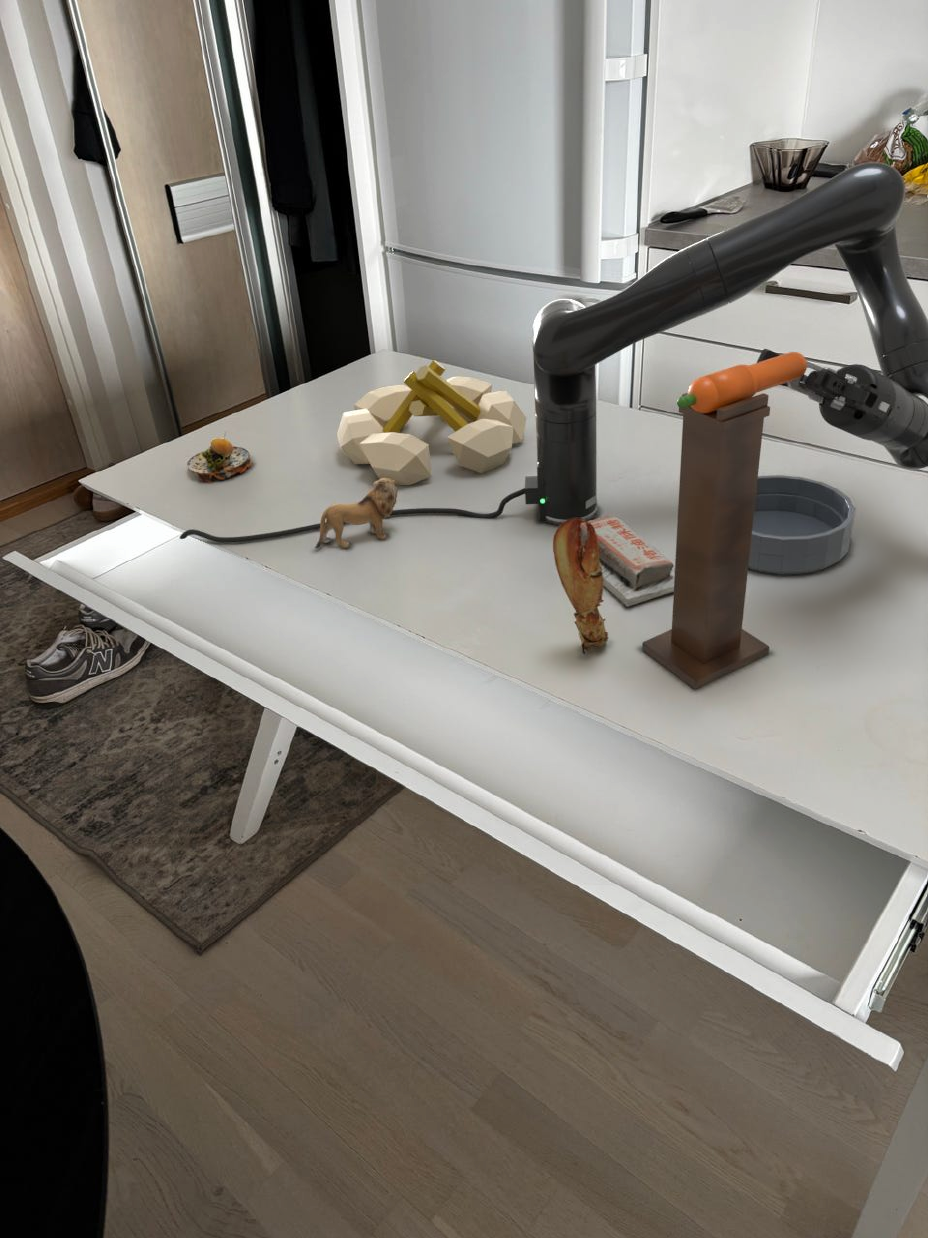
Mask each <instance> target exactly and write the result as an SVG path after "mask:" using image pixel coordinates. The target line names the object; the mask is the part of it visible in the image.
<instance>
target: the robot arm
mask: <svg viewBox="0 0 928 1238" xmlns="http://www.w3.org/2000/svg"><path fill="white" fill-rule="evenodd" d="M905 197H906V185H905V181H904V178H903V176H902V174H901V173H900V172H899V171H898V169H896V168H895V167H893V166H892V165H890V164H887V163H885V162H877V161H870V162H869V161H867V162H862V163H859V164H855V165H853V166H851V167H849V168H847V169H845V170H843V171H841V172H839V173H838V174H836V175H835V176H833V177H831V178H829V179H828V180H826V181H824V182H823V183H821V184H819V185H818V186H816V187H814V188H812V189H811V190H808V191H807V192H805V193H804V194H802V195H800V196H798V197H796V198H795V199H793V200H791V201H790V202H787V203H785V204H784V205H782V206H779V207H777V208H774V209H772V210H770V211H768V212H765V213H762V214H760V215H757V216H755V217H753V218H750V219H748V220H746V221H743V222H741V223H739V224H737V225H734V226H732V227H729V228H728V229H725V230H723V231H721V232H719V233H716V234H713V235H711V236H708V237H706V238H704V239H702V240H700V241H698V242H695V243H693V244H691V245H689V246H687V247H685V248H683V249H680V250H678V251H676V252H675V253H673V254H671V255H670V256H668V257H666V258H665V259H663V260H662V261H660V262H659V263H658V264H656V265H655V266H653V267H652V268H651V269H650V270H649V271H647V272H646V273H645V274H643V275H642V276H641V277H640V278H638V279H636V281H635V282H633V283H632V284H630V285H629V286H627V287H626V288H625V289H623V290H622V291H620V292H618V293H616V294H614V295H612V296H610V297H608V298H606V299H603V300H601V301H598V302H596V303H593V304H591V305H588V306H585V305H584V304H582V303H581V302H579V301H577V300H575V299H570V298H559V299H556V300H553V301H550V302H549V303H547V304H546V305H544V306H543V307H542V308H541V309H540V311H539V312H538V313H537V315H536V317H535V319H534V321H533V325H532V337H531V338H532V339H531V340H532V342H531V343H532V357H533V384H534V385H533V387H534V388H533V389H534V390H533V391H534V412H535V413H534V414H535V434H536V459H537V461H536V475H531V476H530V475H527V476H525V478H524V479H525V480H524V487H523V488H521V489H519V490H515V491H513V492H511V493H510V494H508V495H507V496H505V497H504V498H502V500H500V503H499V505H498V508H497V509H496V511H493V512H491V513H478V512H474V511H470V510H466V509H461V508H452V507H450V508H449V507H446V508H445V507H418V508H416V507H415V508H403V509H401V508H400V509H393V510H392V513H391V514H390V516H389V517H392V516H393V517H394V516H403V515H404V516H405V515H420V514H443V515H445V514H447V515H459V516H464V517H469V518H473V519H474V518H475V519H490V520H491V519H495V518H497V517H499V516H501V515H502V514H503V512H504V509H505V507H506V505H507V504H508V503H509V502H511V501H512V500H514V499H516V498H519V497H521V496H524V499H525V500H524V501H525V502H524V504H525V505H538V522H540V523H543V522H545V523H549V524H552V525H556V526H560V525H561V524H562V523H563V522H565V521H566V520H568V519H570V518H574V517H579V518H582V519H584V520H586V521H590V520H593V519H594V518H595V517H596V516H597V513H598V497H597V496H598V495H597V491H598V489H597V488H598V485H597V477H598V476H597V475H598V474H597V469H598V468H597V467H598V466H597V465H598V464H597V461H598V460H597V397H598V396H597V378H596V377H597V375H596V366H597V364H600V363H601V362H603V361H604V360H607V359H608V358H610V357H612V356H614V355H615V354H617V353H618V352H621V351H623V350H624V349H626V348H628V347H630V346H632V345H634V344H636V343H638V342H640V341H643V340H645V339H647V338H650V337H652V336H655V335H658V334H660V333H663V332H664V331H668V330H670V329H672V328H674V327H677V326H680V325H682V324H684V323H686V322H689V321H691V320H693V319H696V318H698V317H702V316H704V315H707V314H709V313H711V312H714V311H716V310H718V309H720V308H723V307H725V306H728V305H729V304H732V303H734V302H735V301H737V300H740V299H741V298H743V297H745V296H747V295H749V294H751V293H752V292H753V291H755V290H757V289H759V287H761V286H763V285H764V284H765V283H767V282H768V281H770V280H771V279H772V278H774V277H776V275H778V274H779V273H780V272H782V271H784V270H785V269H786V268H788V267H789V266H791V265H792V264H795V262H797V261H799V260H801V259H803V258H804V257H806V256H809V255H811V254H813V253H815V252H816V253H817V252H818V251H821V250H823V249H826V248H828V247H832V246H834V247H835V249H836V251H837V253H838V255H839V257H840V258H841V261H842V263H843V264H844V267H845V268H846V270H847V272H848V274H849V276H850V279H851V281H852V284H853V286H854V288H855V290H856V293H857V296H858V298H859V302H860V304H861V307H862V311H863V313H864V317H865V321H866V323H867V327H868V331H869V335H870V338H871V341H872V345H873V349H874V352H875V355H876V358H877V362H878V366H879V368H880V369H879V370H880V372H881V373H880V372H878V371H876V370H875V369H872V368H870V367H869V366H867V365H864V364H857V363H854V364H849V365H845V366H842V367H841V368H839V369H837V370H836V369H833V368H830V367H827V366H824V367H822V366H820V365H818V364H815V363H812V362H810V361H808V360H806V361H807V368H806V371H805V373H806V372H807V369H808V368H809V369H811V370H812V371H810V372H809V374H808V375H807V374H805V373H804V374H803V375H802V376H801V377H800V378H798V379H795V380H792V381H790V382H787V383H785V384H786V385H787V387H788V388H789V389H790V390H793V391H795V392H798V393H800V394H803V395H805V396H807V397H808V399H809V400H812V401H814V402H816V403H818V408H819V412H820V416H821V417H822V419H823V420H824V421H825V422H826V423H827V424H829V425H830V426H831V427H834V428H837V429H839V430H840V431H843V432H846V433H848V434H850V435H852V436H855V437H857V438H859V439H862V440H866V441H871V442H873V443H876V444H878V445H880V446H882V447H884V449H885V450H886V451H887V452H888V453H889V454H890V456H891V457H892V460H893V461H894V462H895V463H896V465H897V466H899V467H900V468H901V469H904V470H910V471H911V470H913V471H914V470H915V471H916V470H921V469H924V468H927V467H928V403H927V402H926V401H925V400H924V399H923V398H921V397H924V398H926V399H927V400H928V318H927V317H928V316H927V315H926V313H925V311H924V309H923V306H922V305H921V304H920V301H919V299H918V298H917V296H916V294H915V292H914V291H913V289H912V286H911V285H910V282H909V280H908V277H907V276H906V273H905V269H904V266H903V263H902V258H901V255H900V249H899V244H898V243H899V242H898V235H897V225H896V224H897V221H898V219H899V216H900V214H901V211H902V208H903V206H904V202H905ZM780 355H781V354H779V353H777V352H774V351H773V350H770V349H767V348H763V349H762V351H761V352H760V354H759V356H758V358H757V360H756V363H758V362H762V361H765V360H768V359H771V358H774V357H777V356H780ZM800 384H804V387H802V386H800ZM582 523H585V521H584V522H582ZM325 524H326V521H325ZM325 524H324V526H325ZM344 524H346V523H345V522H344ZM316 530H320V522H319V523H315V524H314V523H313V524H309V525H304V526H300V527H299V526H298V527H295V528H290V529H284V530H278V531H272V532H265V533H258V534H252V535H251V534H250V535H242V536H230V537H229V536H216V535H212V534H209V533H207V532H204V531H202V530H199V529H193V528H192V529H191V528H190V529H187V530H185V531H184V532H182V534H180V536H179V539H180V540H185V539H187V538H188V537H189V536H192V535H193V536H198V537H201V538H203V539H206V540H208V541H211V542H215V543H223V544H226V543H227V544H228V543H229V544H232V543H244V542H245V543H246V542H252V541H253V542H254V541H261V540H267V539H274V538H281V537H285V536H290V535H291V536H292V535H296V534H301V533H305V532H310V531H311V532H312V531H316Z"/></svg>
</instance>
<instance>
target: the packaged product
mask: <svg viewBox="0 0 928 1238" xmlns="http://www.w3.org/2000/svg"><path fill="white" fill-rule="evenodd" d="M588 522H589V523H591V524H592V526H593V527H594V529H595V532H596V535H597V540H598V550H599V563H600V566H601V567H602V573H603V587H605V588H606V589H607V590H608V591H609V592H610V593H611V594H613V595H614V596H615V597H616V598H617V599H618V600H619V601H620V602H621V603H622V604H624V606H626V607H627V608H629V607H631V606H635V605H638V604H639V603H643V602H646V601H648V600H651V599H655V598H658V597H660V596H664V595H667V594H670V593H674V578H675V569H673V568H675V564H674V563H673V562H672V561H671V560H670V559H668V558H667V557H666V556H665V555H664V554H662V552H660V551H659V550H657V549H656V548H655V547H654V546H652V545H651V544H650V543H649V542H647V541H646V540H645V538H643V537H642V536H641V535H639V534H638V533H636V532H635V530H633V529H632V528H631V527H630V526H628V525H627V524H626V523H625V522H624V521H623V520H622V519H620V518H618V517H617V516H613V515H605V516H601V517H599V518H595V519H591V520H589V521H588ZM580 528H581V529H582V535H581V541H582V542H583V543H584V547H583V548H584V549H586V543H585V540H586V538H587V526H586V524H585V523H581V526H580Z"/></svg>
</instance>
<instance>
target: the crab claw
mask: <svg viewBox="0 0 928 1238" xmlns="http://www.w3.org/2000/svg"><path fill="white" fill-rule="evenodd" d="M584 521H585V524H586V526H587V538H586V540H585V543H586V549H584V548H583V547H584V543H583V542H582V541H581V535H582V529H581V528H580V526H581V523H582V522H584ZM552 552H553V559H554V564H555V568H556V571H557V575H558V577H559V580H560V583H561V586H562V589H563V590H564V592H565V593H566V596H567V598H568V600H569V601H570V604H571V606H572V607H573V609H574V610H575V612H574V613H573V616H574V618H575V621H573V622H574V624H575V626H576V629H577V631H578V637H579V640H580V644H581V651H582V654H583V655H586V651H589V650H590V649H593V648H594V649H595V648H597V649H598V648H600V647H601V648H602V646H604V645H606V644H607V642H608V640H609V632H607V629H606V626H605V621H606V618H603V616H602V614H601V612H600V610H599V607H600V606H601V603H602V602H603V603H604V599H603V594H604V585H603V573H602V567H601V566H600V563H599V550H598V540H597V535H596V532H595V529H594V527H593V526H592V524H591V523H589V522H588V521H586V520H584V519H582V518H579V517H574V518H570V519H568V520H566V521H565V522H563V523H562V524H561V525H558V527H557V528H556V530H555V532H554V535H553V539H552Z"/></svg>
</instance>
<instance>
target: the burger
mask: <svg viewBox="0 0 928 1238" xmlns="http://www.w3.org/2000/svg"><path fill="white" fill-rule="evenodd" d="M226 433H227V431H226V430H225V433H224V434H226ZM225 437H226V435H224V437H215V438H212V439H211V441H210V446H208V448H207V449H206V450H204V451H201V452H199V453H197V454H195V455H193V456H192V457H191V458H190V459H189V460H188V461H187V469H188V470H189V472H190V473H192V474H196V475H198V478H199V480H200V482H202V483H204V482H206V483H211V482H212V479H211V478H212V476H214V477H215V478H216V479H218V480H226V479H230V477H231V476H232V475H236V474H237V473H240V474H243V472H245V471H246V470H247V469H249V468H251V466H252V463H253V461H252V458H251V456H250V452H249V450H247V449H246V448H243V447H241V446H240V447H239V446H233V444H232V443H231V441H230V440H228V439H227V438H225Z"/></svg>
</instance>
